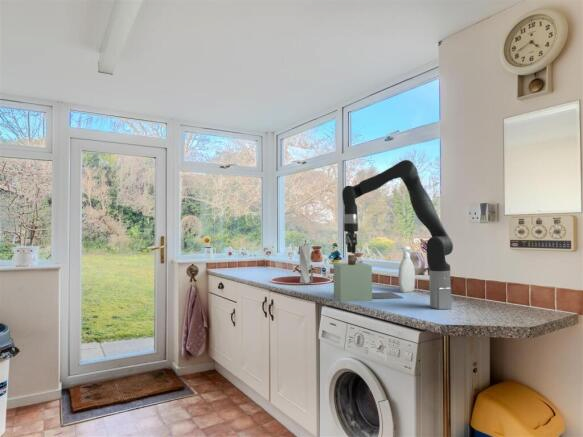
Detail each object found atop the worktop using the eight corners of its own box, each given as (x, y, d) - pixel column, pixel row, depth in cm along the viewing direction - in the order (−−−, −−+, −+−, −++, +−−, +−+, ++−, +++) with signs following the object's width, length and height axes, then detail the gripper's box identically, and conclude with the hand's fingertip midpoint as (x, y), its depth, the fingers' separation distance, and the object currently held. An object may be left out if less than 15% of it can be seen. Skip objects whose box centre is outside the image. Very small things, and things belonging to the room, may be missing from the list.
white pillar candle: (306, 284, 263) (306, 243, 264) (297, 283, 268) (296, 243, 269) (313, 282, 269) (313, 242, 270) (304, 282, 274) (303, 242, 275)
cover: (372, 300, 199) (371, 256, 200) (340, 301, 197) (340, 256, 198) (362, 295, 216) (362, 254, 216) (333, 295, 214) (333, 254, 215)
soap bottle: (407, 289, 234) (406, 245, 235) (418, 291, 228) (418, 245, 229) (392, 292, 225) (392, 246, 226) (405, 293, 219) (404, 246, 220)
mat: (403, 298, 205) (403, 297, 205) (371, 299, 203) (371, 298, 203) (391, 293, 222) (391, 292, 222) (362, 293, 220) (362, 293, 220)
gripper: (361, 222, 201) (361, 253, 201) (354, 223, 216) (354, 252, 215) (347, 222, 201) (347, 253, 200) (340, 223, 215) (341, 252, 214)
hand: (351, 252), depth 208 cm, fingers open, 8 cm apart
